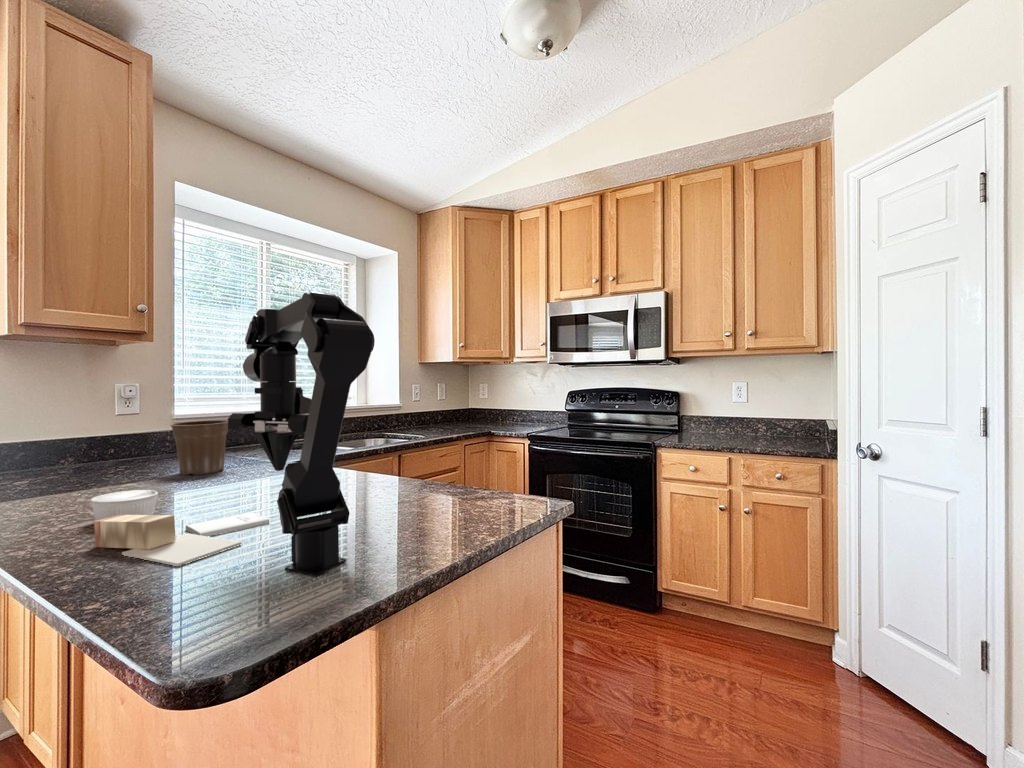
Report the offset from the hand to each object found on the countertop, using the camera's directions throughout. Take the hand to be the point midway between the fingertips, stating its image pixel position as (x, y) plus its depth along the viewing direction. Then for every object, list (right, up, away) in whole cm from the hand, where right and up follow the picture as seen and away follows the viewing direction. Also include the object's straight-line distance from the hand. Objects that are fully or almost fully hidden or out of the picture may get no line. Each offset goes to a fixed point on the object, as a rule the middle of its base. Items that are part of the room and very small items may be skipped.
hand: (279, 470), depth 87 cm
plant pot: (-59, -14, +73) cm, 95 cm away
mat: (-15, -13, -3) cm, 20 cm away
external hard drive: (-15, -14, +11) cm, 23 cm away
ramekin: (-40, -14, +17) cm, 46 cm away
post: (-19, -10, -2) cm, 22 cm away
